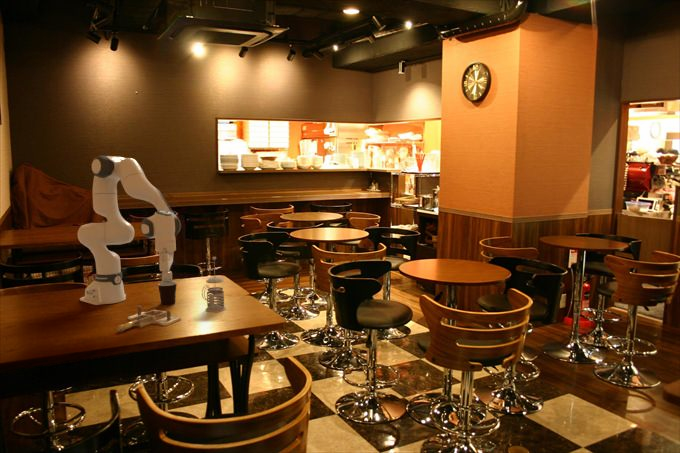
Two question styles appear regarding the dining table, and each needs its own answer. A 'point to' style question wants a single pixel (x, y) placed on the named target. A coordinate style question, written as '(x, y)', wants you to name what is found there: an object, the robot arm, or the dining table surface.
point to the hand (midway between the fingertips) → (167, 276)
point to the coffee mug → (167, 293)
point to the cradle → (153, 317)
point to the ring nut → (168, 277)
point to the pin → (127, 325)
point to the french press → (214, 295)
